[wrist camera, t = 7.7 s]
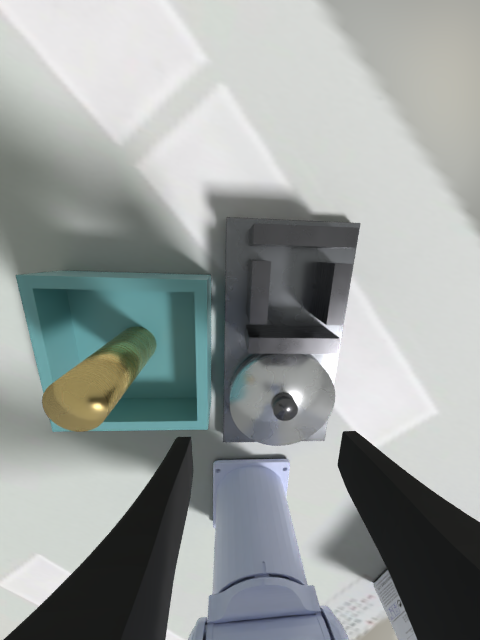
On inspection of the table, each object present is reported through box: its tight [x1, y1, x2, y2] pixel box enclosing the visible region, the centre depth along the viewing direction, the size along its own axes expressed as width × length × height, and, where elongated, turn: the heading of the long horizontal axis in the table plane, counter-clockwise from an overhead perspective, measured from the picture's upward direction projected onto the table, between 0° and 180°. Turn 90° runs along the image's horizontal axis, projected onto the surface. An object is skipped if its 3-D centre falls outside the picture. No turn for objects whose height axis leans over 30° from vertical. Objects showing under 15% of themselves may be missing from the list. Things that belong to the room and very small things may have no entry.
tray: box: [16, 271, 211, 432], centre depth 18 cm, size 12×12×4 cm
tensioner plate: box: [223, 217, 360, 446], centre depth 18 cm, size 20×10×4 cm, turn 178°
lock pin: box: [42, 327, 156, 432], centre depth 15 cm, size 3×3×8 cm
